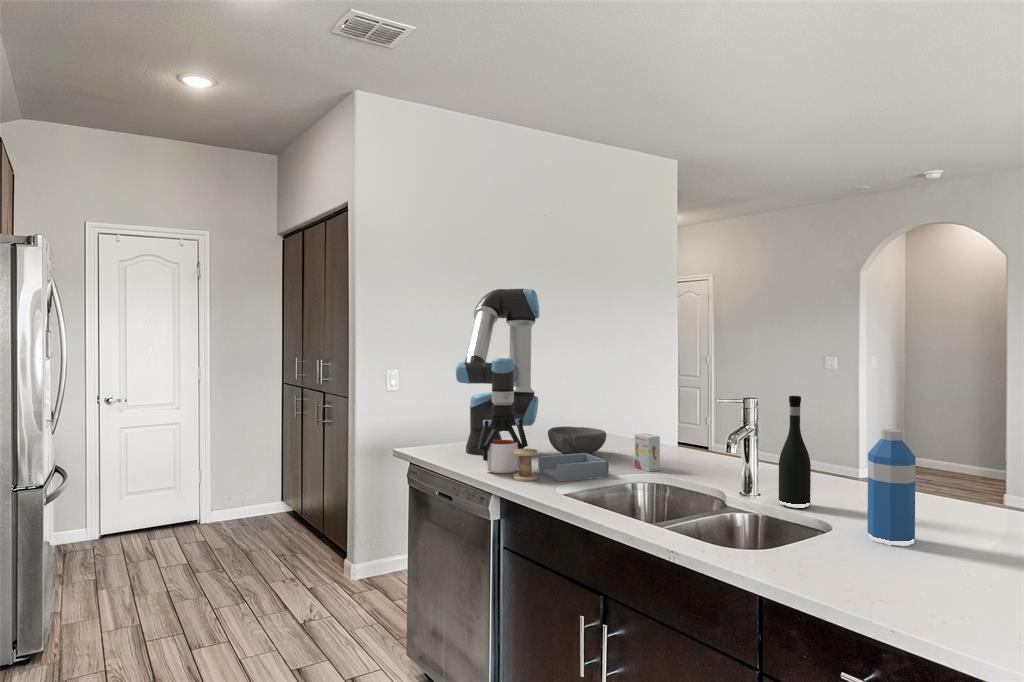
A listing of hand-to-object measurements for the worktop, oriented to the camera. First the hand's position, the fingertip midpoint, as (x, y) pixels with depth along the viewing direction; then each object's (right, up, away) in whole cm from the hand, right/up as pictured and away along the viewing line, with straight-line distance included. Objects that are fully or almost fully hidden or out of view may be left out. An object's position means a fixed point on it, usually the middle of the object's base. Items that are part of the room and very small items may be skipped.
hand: (502, 468), depth 223 cm
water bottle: (+89, -2, -74) cm, 116 cm away
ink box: (+50, -1, +4) cm, 50 cm away
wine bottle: (+80, -2, -44) cm, 92 cm away
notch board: (+23, -1, -5) cm, 24 cm away
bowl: (+28, -1, +30) cm, 41 cm away
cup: (0, -1, 0) cm, 1 cm away
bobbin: (+7, -1, -11) cm, 13 cm away
